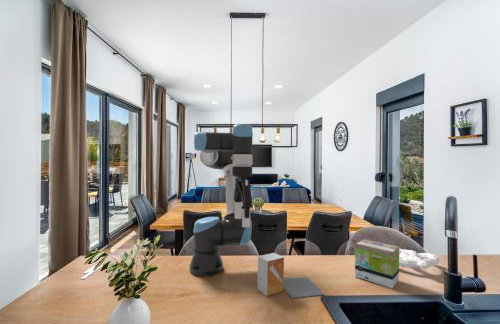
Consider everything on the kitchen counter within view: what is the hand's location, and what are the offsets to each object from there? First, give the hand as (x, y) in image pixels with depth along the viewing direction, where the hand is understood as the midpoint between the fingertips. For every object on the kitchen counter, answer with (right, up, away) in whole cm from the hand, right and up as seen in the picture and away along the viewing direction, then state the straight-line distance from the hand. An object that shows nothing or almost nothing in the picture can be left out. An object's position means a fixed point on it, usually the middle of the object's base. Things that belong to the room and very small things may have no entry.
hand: (241, 222), depth 97 cm
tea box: (+57, -27, +13) cm, 64 cm away
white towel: (+78, -28, +29) cm, 88 cm away
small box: (+11, -27, +2) cm, 29 cm away
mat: (+23, -27, +5) cm, 35 cm away
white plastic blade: (-69, -27, +18) cm, 76 cm away
